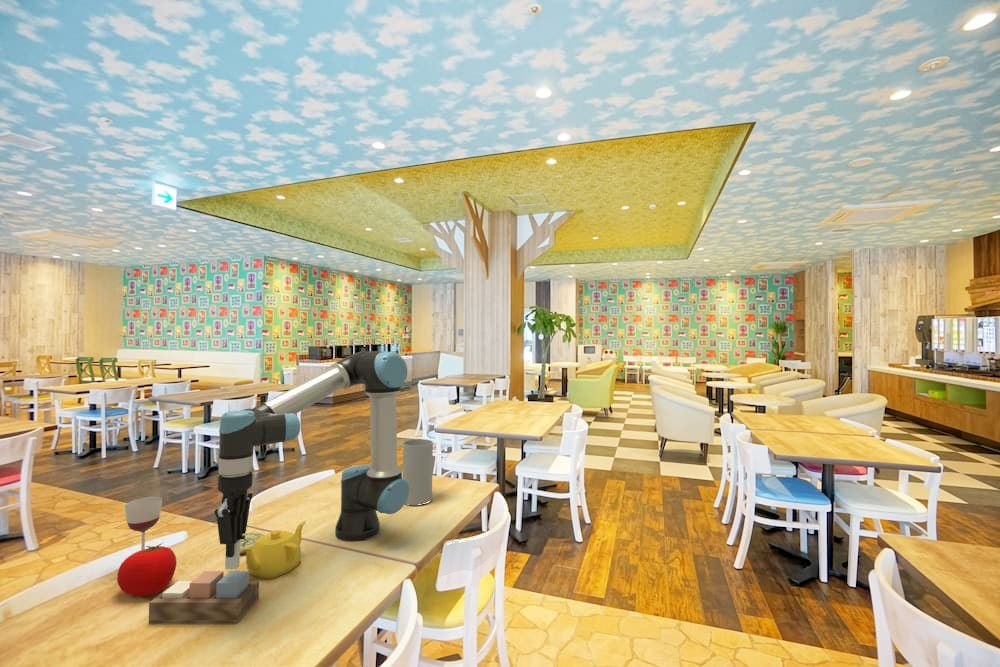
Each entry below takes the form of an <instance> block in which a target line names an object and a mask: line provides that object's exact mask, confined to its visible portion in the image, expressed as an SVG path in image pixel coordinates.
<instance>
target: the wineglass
mask: <svg viewBox="0 0 1000 667" xmlns="http://www.w3.org/2000/svg"><path fill="white" fill-rule="evenodd" d="M162 505H163V497H161V496H147V497H146V496H145V497H141V498H137V499H134V500H131V501H129V502H127V503H126V504H125V505H124V506H125V519H126V523H127V527H128V528H129V529H130V530H132V531H135V532H140V533H141V544H140V545H141V546H140V547H141V549H140V551H141V550H144V549H146V548H145V547H146V545H145V544H146V531H148V530H149V529H151V528H152V527H154V526H155V525H156V524H157V523H158V521H159V520H160V516H161V513H162V508H163V507H162Z"/></svg>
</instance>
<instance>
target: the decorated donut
mask: <svg viewBox="0 0 1000 667" xmlns="http://www.w3.org/2000/svg"><path fill="white" fill-rule="evenodd" d="M264 535H265V534H263V533H260V532H247V533H245V534H242V536H245V538H244V539H240V555H243V556H244V555H245V556H246V552H245V551H244V550H241V549H242V548H245V547H249V548H251V549H252V547H253V544H254V543H255V541H256V540H257V539H258V538H260V537H262V536H264Z"/></svg>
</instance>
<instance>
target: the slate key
mask: <svg viewBox="0 0 1000 667" xmlns="http://www.w3.org/2000/svg"><path fill="white" fill-rule="evenodd" d="M249 581H250V572H249V571H247V570H246V571H245V570H244V571H243V570H231V571H229V572H228V573H227V574H224V575H223V578H222V579H221V580H220V581H219V582H217V586H216V599H237V598H238V597H239V596H240V595H241V594H242V593H243V592H244V591H245V590H246V589H247V588H248V587H249Z"/></svg>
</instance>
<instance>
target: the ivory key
mask: <svg viewBox="0 0 1000 667" xmlns="http://www.w3.org/2000/svg"><path fill="white" fill-rule="evenodd" d="M177 581H178V580H177ZM177 581H175V582H176V583H175V582H174V583H175V584H174V583H173V584H174V585H173V584H172V586H171V585H170V586H171V587H170V586H169V587H170V588H169V587H168V588H169V589H167V588H166V589H167V590H166V589H165V590H166V591H165V590H164V591H165V592H164V591H162V592H163V593H162V592H161V593H162V599H183V598H184V597H185V596H186V595H188V594H189V589H190V583H191V582H192V581H178V582H177Z"/></svg>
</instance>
